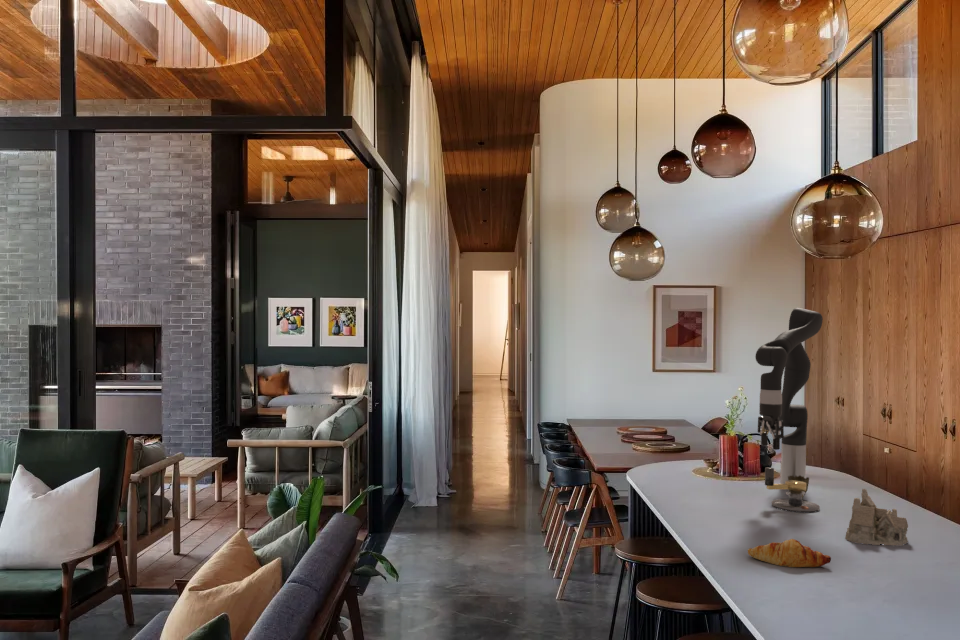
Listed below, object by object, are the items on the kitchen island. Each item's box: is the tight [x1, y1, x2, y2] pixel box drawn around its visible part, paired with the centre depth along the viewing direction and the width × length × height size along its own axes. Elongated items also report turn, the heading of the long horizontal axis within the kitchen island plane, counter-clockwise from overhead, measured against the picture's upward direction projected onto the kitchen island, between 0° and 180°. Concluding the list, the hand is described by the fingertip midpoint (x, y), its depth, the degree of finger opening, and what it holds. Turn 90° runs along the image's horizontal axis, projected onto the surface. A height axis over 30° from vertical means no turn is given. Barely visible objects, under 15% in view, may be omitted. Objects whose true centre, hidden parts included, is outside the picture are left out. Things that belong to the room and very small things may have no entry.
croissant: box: [747, 538, 832, 568], centre depth 208 cm, size 21×10×8 cm, turn 69°
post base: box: [771, 490, 821, 513], centre depth 273 cm, size 16×16×6 cm
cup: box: [788, 475, 810, 499], centre depth 288 cm, size 8×7×8 cm
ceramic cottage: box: [844, 488, 909, 546], centre depth 232 cm, size 16×16×15 cm
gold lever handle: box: [764, 466, 806, 491], centre depth 273 cm, size 15×7×8 cm, turn 97°
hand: (770, 447), depth 272 cm, fingers open, 8 cm apart
